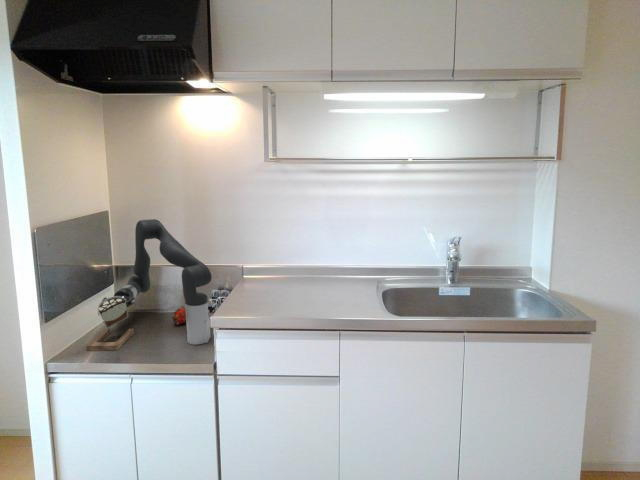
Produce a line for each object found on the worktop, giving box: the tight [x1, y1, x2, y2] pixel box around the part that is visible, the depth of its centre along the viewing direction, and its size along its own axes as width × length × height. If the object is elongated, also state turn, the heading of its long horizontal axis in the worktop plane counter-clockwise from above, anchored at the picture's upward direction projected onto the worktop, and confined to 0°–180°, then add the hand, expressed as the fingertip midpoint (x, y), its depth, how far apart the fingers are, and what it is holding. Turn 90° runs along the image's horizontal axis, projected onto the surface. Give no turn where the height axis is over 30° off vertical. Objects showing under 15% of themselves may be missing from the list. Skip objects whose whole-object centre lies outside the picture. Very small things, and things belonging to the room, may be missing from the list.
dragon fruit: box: [172, 306, 186, 326], centre depth 209 cm, size 8×8×12 cm
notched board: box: [85, 328, 135, 352], centre depth 189 cm, size 12×18×2 cm
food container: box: [97, 296, 129, 329], centre depth 189 cm, size 12×6×10 cm, turn 134°
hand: (110, 308), depth 188 cm, fingers closed on food container, 5 cm apart
